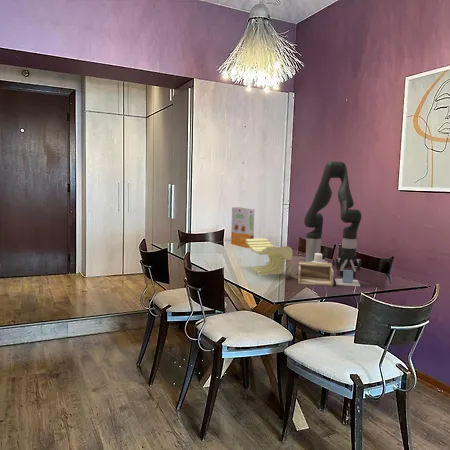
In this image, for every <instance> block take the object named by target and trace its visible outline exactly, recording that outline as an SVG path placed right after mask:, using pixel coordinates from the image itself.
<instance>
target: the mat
mask: <svg viewBox="0 0 450 450" xmlns="http://www.w3.org/2000/svg"><path fill="white" fill-rule="evenodd" d="M334 281H335V284H336V286H347V287H361V284H360V282H359V280H358V279H353V283H343V282H342V278H334Z"/></svg>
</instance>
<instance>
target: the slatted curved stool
mask: <svg viewBox="0 0 450 450" xmlns="http://www.w3.org/2000/svg"><path fill="white" fill-rule="evenodd" d="M246 244H248V246H249V248H248V249H250V251H251V252H254V253H256V254H258V255H260V256H261V255H267V257H268V259H269V261H268V263H267V264H266V265H262V266H259V267H258V266H257V267H251V268H250V270H251V271H250V272H252V271H254V272H255V273H254V272H253V273H254V274H256V273H257V274H258V276H259V275H263V276H269V275H268V274H278V275H281V274H282V273H283V272H284V269H285V268H284V267H285V262H286V261H287V260H288V261H289V260H293V249H292V248H291V247H290V246H287V245H286V246H274V245H273V243H272V242H271V240H269V239H268V238H262V237H260V238H254V239H246ZM257 274H256V275H257Z"/></svg>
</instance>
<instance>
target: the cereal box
mask: <svg viewBox="0 0 450 450" xmlns="http://www.w3.org/2000/svg"><path fill="white" fill-rule="evenodd" d="M230 231H231V236H230V240H231V241H230V244H232V245H234V246H238V247H241V248H245V249H250V248H249V246H248V244H246V239H255V238H254V237H255V209H253V208H252V209H251V208H246V207H240V206H239V207H238V206H235V207H233V206H232V207H231V230H230Z"/></svg>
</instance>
